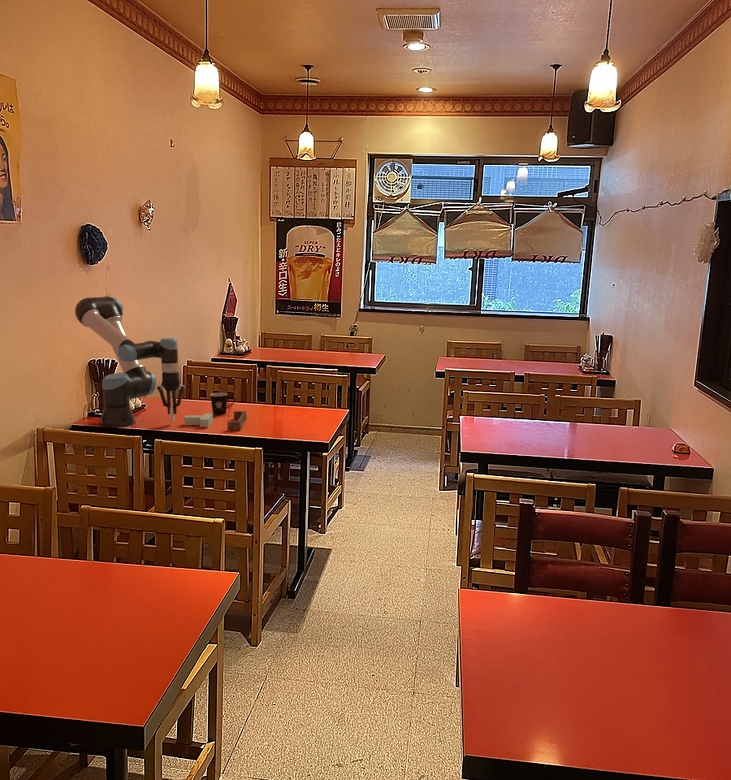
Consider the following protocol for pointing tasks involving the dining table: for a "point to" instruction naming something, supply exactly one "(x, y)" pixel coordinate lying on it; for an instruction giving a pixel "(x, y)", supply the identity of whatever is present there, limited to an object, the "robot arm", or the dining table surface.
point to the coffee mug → (220, 403)
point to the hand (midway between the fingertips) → (172, 420)
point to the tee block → (199, 420)
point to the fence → (237, 424)
